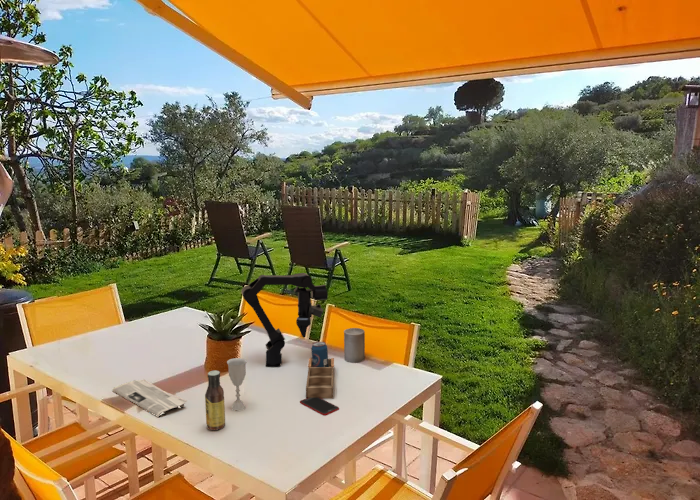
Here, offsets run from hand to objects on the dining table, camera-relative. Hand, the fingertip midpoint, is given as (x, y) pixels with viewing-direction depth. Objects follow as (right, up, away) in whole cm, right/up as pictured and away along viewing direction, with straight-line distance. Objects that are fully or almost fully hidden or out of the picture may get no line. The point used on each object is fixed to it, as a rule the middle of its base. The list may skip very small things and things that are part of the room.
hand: (304, 333), depth 229 cm
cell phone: (+9, -20, -42) cm, 48 cm away
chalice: (-21, -20, -44) cm, 53 cm away
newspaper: (-56, -19, -37) cm, 70 cm away
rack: (+9, -17, -21) cm, 28 cm away
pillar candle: (+23, -13, +5) cm, 27 cm away
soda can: (+8, -14, -12) cm, 20 cm away
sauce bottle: (-25, -22, -58) cm, 67 cm away
